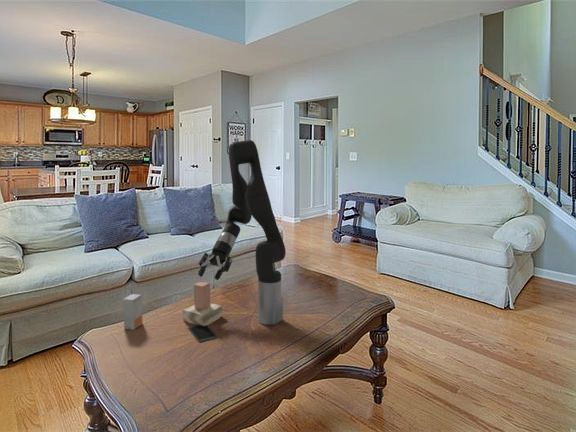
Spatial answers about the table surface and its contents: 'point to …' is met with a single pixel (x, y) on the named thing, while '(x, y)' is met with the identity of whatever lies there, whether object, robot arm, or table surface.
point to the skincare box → (132, 311)
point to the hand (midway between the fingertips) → (207, 277)
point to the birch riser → (202, 314)
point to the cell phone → (202, 333)
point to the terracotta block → (202, 295)
